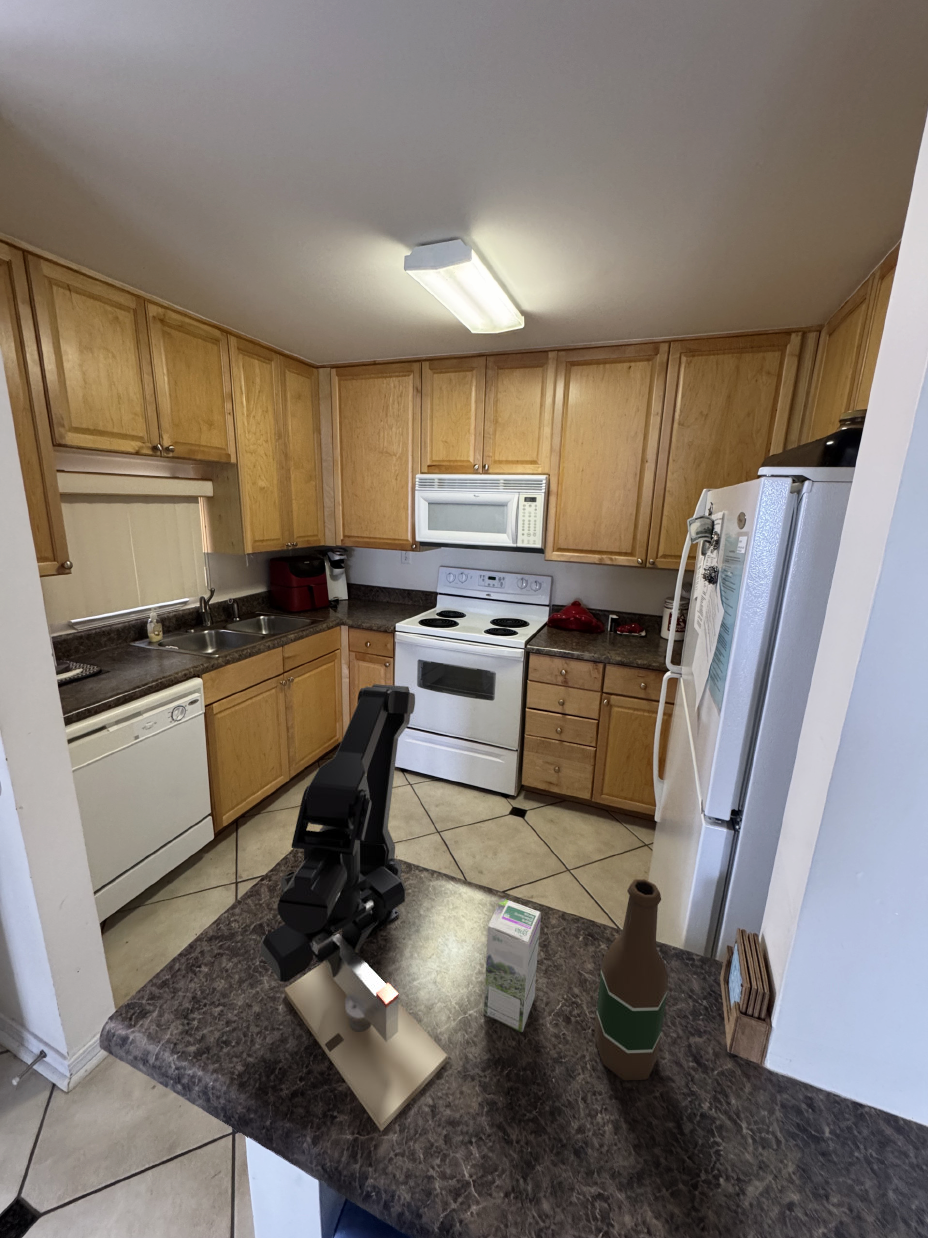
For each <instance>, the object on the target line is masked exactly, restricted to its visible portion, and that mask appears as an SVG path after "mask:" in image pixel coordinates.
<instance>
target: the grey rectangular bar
mask: <svg viewBox="0 0 928 1238" xmlns="http://www.w3.org/2000/svg"><path fill="white" fill-rule="evenodd" d="M333 940H334V941H335V942H336V943H337V944H338V946H339V947H340V955H339V963H338V970H337V974H336V976H335V977H334V978H333V977H332V978H333V979H334V980H335V981H336V982H337V984H338V985H339V986H340V987H341V988H342V990H343V991H344V992H345V993H346V995H347V997H346V1000H345V1012H346V1015H347V1017H348V1018H349V1019H350V1020H352V1021H355V1022H361V1021H365V1020H368V1021H369V1022H370V1023H371V1025H372V1026H373V1027H374V1028H375V1029H376V1031H377V1032H378V1033H379V1034H380V1035H381V1037H382V1038H383V1039H384V1040H385V1041H386V1042H387V1041H388V1040H389V1039H391V1038H392V1037H393V1036H394V1035H395V1034H396V1033H397V1032H398V1002H399V993H398V991H397V990H396V989H395V988H394V987H393V986H392V985H391V984H390V983H389V982H387V983H385V981H383V979H381V977H380V976H379V975H378V974H377V973H376V972H375V971H374V970H373V969H372V968H371V966H369V964H368V963H367V962H365V960H364V959H363V957H361V956H360V955H359V954H358V952H357V953H356V952H355V951H354V949H353V948H352V947H351V946H350V945H349V944H348V943H347V942H346V941H345V940H344V939H343V938H342V934H341V935H340V933H337V934H336V935H334V936H333ZM328 973H329V972H328Z"/></svg>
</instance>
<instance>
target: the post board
mask: <svg viewBox="0 0 928 1238" xmlns="http://www.w3.org/2000/svg"><path fill="white" fill-rule="evenodd" d="M284 996H285V998H286V999H287V1000H288V1002H289V1003H290V1004H291V1006H292V1007H293V1008H294V1009H295V1011H296V1013H297V1015H299V1017H300V1019H301V1020H302V1021H303V1022H304V1024H305V1026H306V1027H307V1029H309V1031H310V1032H311V1034H312V1035H313V1037H314V1038H315V1040H316V1041H317V1043H318V1044H319V1045H320V1046H321V1048H322V1050H323V1051H324V1052H325V1054H326V1055H327V1057H328V1058H329V1060H330V1061H331V1062H332V1064H333V1065H334V1066H335V1069H337V1071H338V1072H339V1074H340V1076H341V1077H342V1078H343V1080H344V1081H345V1082H346V1084H347V1085H348V1086H349V1088H350V1089H351V1091H352V1092H353V1094H354V1095H355V1096H356V1098H357V1099H358V1101H359V1102H360V1104H361V1105H362V1106H363V1108H364V1109H365V1110H366V1112H367V1113H368V1115H369V1116H370V1118H371V1119H372V1121H373V1122H374V1123H375V1125H376V1126H377V1128H378V1129H379V1130H380V1132H382V1131H384V1129H385V1128H386V1127H387V1126H388V1125H389V1124H390V1123H391V1122H392V1121H393V1120H394V1119H395V1118H396V1116H398V1114H399V1113H401V1111H402V1110H403V1109H404V1108H405V1107H406V1106H407V1105H408V1104H409V1103H410V1102H411V1101H412V1099H414V1098H415V1096H417V1094H418V1093H419V1092H421V1090H422V1089H423V1088H424V1087H425V1086H426V1084H428V1082H430V1081H431V1079H432V1078H433V1077H435V1076H436V1075H437V1073H438V1072H439V1071H441V1069H442V1068H443V1067H444V1066H445V1065H446V1064H447V1062H448V1054H447V1053H446V1052H445V1051H444V1050H443V1049H442V1048H441V1047H440V1045H438V1043H436V1041H435V1040H434V1039H433V1038H432V1037H431V1036H430V1034H428V1033H427V1032H426V1030H424V1028H423V1027H422V1026H421V1025H420V1024H419V1023H418V1022H417V1021H416V1019H415V1018H414V1017H413V1016H412V1015H411V1014H410V1013H409V1012H408V1011H407V1010H406V1009H405V1008H404V1006H402V1005H401V1003H400V1002H399V1001H398V1032H397V1033H396V1034H395V1035H394V1036H393V1037H392V1038H391V1039H389V1040H388V1041H387V1042H386V1041H385V1040H384V1039H383V1038H382V1037H381V1035H380V1034H379V1033H378V1032H377V1031H376V1029H375V1028H374V1027H373V1026H372V1025H371V1023H370V1022H369V1021H368V1020H365V1021H361V1022H355V1021H352V1020H350V1019H349V1018H348V1017H347V1015H346V1012H345V1000H346V997H347V995H346V993H345V992H344V991H343V990H342V988H341V987H340V986H339V985H338V984H337V982H336V981H335V980H334V979H333V978H332V976H331V975H330V974H329V973H328V970H327V968H326V966H325V964H324V962H321V963H320V964H319V965H318V966H316V967H314V968H313V969H312V970H310V971H308V972H307V973H306V974H305V975H303V976H302V977H300V978H298V979H297V980H296V981H294V982H293V983H291V984H290V985H288V986H287V987H286V988H284Z"/></svg>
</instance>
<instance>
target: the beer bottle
mask: <svg viewBox="0 0 928 1238" xmlns="http://www.w3.org/2000/svg"><path fill="white" fill-rule="evenodd" d="M627 893H628V895H629V896H628V902H627V906H626V912H625V916H624V922H623V927H622V930H621V934H619V935H618V936H617V937H616V938H615V940H614V941H613V942H612V944H611V946H610V947H608V949H607V951H606V953H605V954H604V956H603V959H602V961H601V962H602V963H601V968H600V975H599V983H598V984H599V985H598V992H597V993H598V994H597V1003H596V1004H597V1005H596V1014H595V1019H594V1020H595V1022H594V1036H593V1037H594V1041H595V1043H596V1046H597V1051H598V1053H599V1056H600V1060H601V1063H602V1064H603V1065H604V1066H605V1067H607V1068H608V1069H609V1070H610V1071H611V1072H613V1073H614V1074H615V1075H617V1076H618V1077H619V1078H620V1079H621V1080H622V1081H642V1080H643V1081H644V1080H648V1079H649V1077H650V1074H651V1073H652V1070H653V1068H654V1067H655V1064H656V1063H657V1060H658V1056H659V1052H660V1045H661V1038H662V1033H663V1032H662V1031H663V1025H664V1017H665V1011H666V1004H667V995H668V988H669V987H668V986H669V975H668V971H667V969H666V968H667V967H666V965H665V963H664V960H663V959H662V957H661V955H660V953H659V950H658V949H657V948H658V947H657V928H658V927H657V926H658V909H659V907H658V905H659V904H660V903H661V902H662V896H661V892H660V890H659V889H658V887H657V885H656V884H655V883H652V882H651V881H649V880H647V879H644V878H643V879H641V878H640V879H633V880H632V881H631V883H630V884H629V886H628V888H627Z"/></svg>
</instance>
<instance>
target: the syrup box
mask: <svg viewBox="0 0 928 1238" xmlns="http://www.w3.org/2000/svg"><path fill="white" fill-rule="evenodd" d="M541 914H542V913H541V911H538V910H535V909H532V908H530V907H527V906H525V905H523V904H519V903H517V902H515V901H511V900H508V899H506V898H501V899H500V901H499V904H498V905H497V907H496V909H495V911H494V913H493V914H492V916H491V918H490V921H489V923H488V925H487V935H486V936H487V939H486V940H487V941H486V960H485V962H486V963H485V979H484V996H483V997H484V1003H483V1015H485V1016H487V1017H488V1018H490V1019H493V1020H495V1021H497V1022H499V1023H502V1024H503V1025H505V1026H507V1027H510V1028H511V1029H513V1030H516V1031H517V1032H519V1033H523V1032H524V1029H525V1026H526V1023H527V1020H528V1017H529V1014H530V1011H531V1009H532V1005H533V1003H534V1000H535V995H536V976H537V965H538V964H537V961H538V951H539V941H540V932H541V931H540V930H541V919H542V915H541Z"/></svg>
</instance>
